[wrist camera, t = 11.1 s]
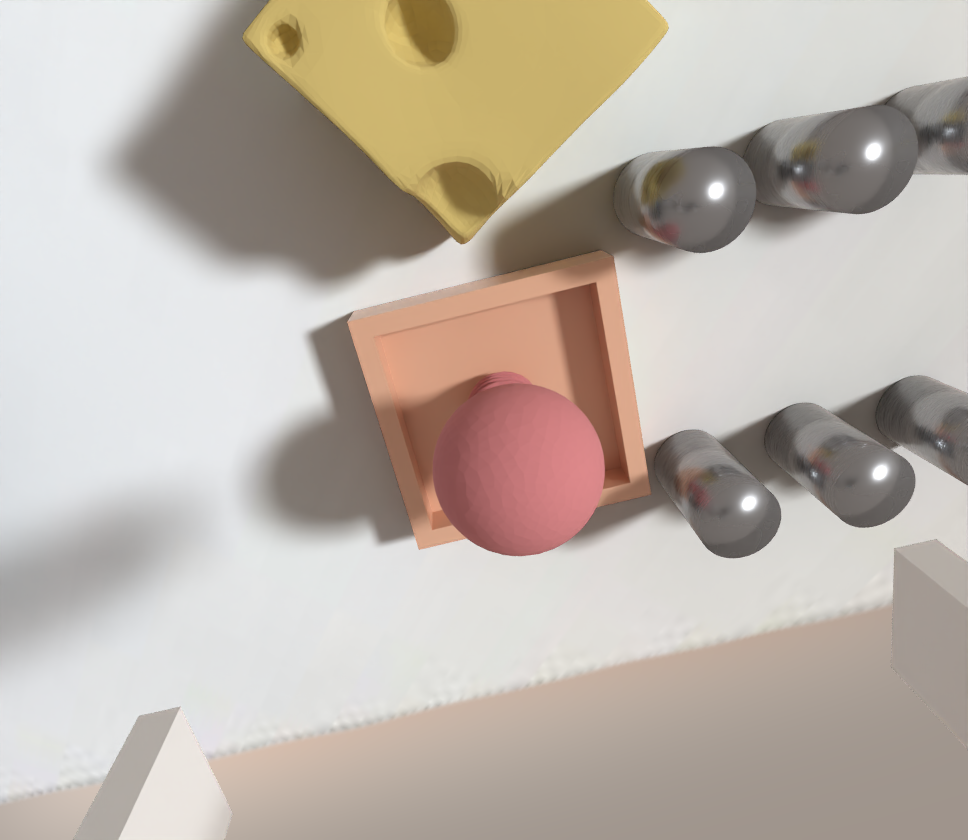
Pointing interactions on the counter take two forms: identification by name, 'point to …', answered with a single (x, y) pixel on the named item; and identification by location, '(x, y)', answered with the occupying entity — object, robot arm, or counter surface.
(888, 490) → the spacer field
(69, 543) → the counter surface
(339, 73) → the cheese
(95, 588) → the counter surface
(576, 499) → the light bulb
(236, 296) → the counter surface
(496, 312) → the dish
